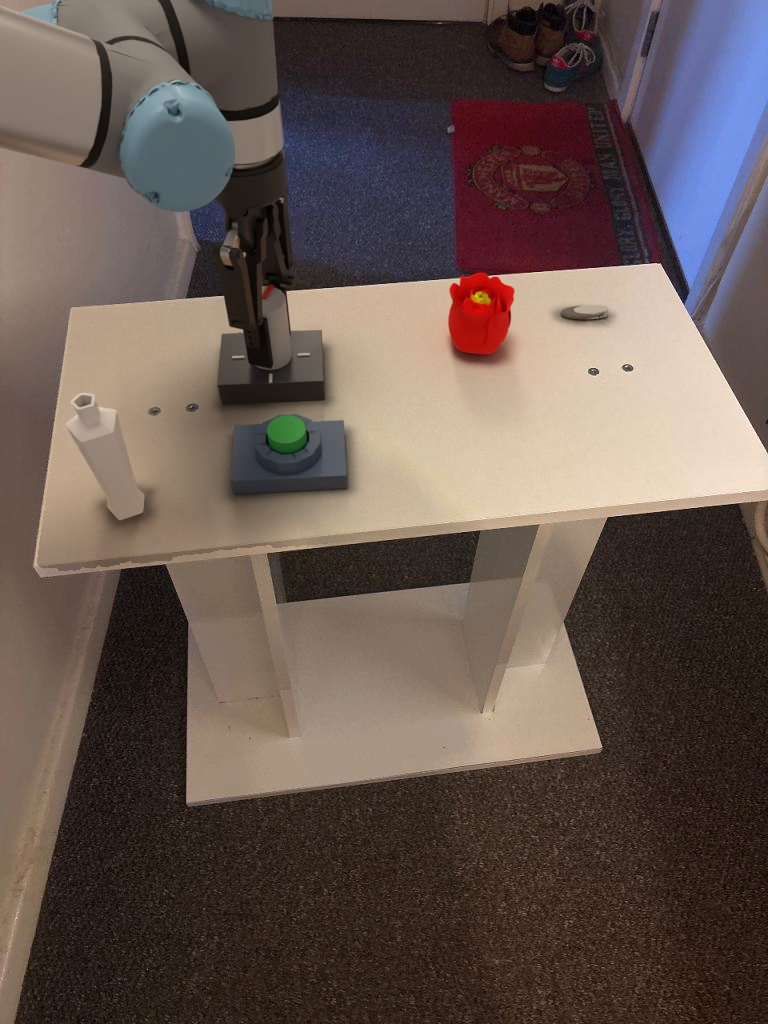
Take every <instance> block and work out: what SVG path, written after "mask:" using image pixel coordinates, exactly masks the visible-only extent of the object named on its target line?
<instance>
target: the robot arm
mask: <svg viewBox="0 0 768 1024" xmlns="http://www.w3.org/2000/svg"><path fill="white" fill-rule="evenodd" d="M274 14H275V13H274V10H273V6H272V0H54V1H53V2H49V3H46V4H42V5H38V6H35V7H31V8H27V9H23V10H21V11H17V10H15V9H12V8H9V7H6V6H3V5H0V149H3V150H7V151H11V152H16V153H20V154H25V155H29V156H33V157H37V158H42V159H45V160H49V161H53V162H57V163H61V164H66V165H70V166H73V167H79V168H83V169H87V170H90V171H93V172H99V173H102V174H106V175H109V176H113V177H118V178H123V179H124V180H126V182H127V184H128V186H129V187H130V188H131V189H132V190H133V191H134V192H136V194H139V195H140V196H141V197H142V199H144V200H145V201H147V202H148V203H150V204H151V205H153V206H154V207H157V208H158V209H161V210H164V211H167V212H172V213H185V212H190V211H195V210H198V209H200V208H203V207H204V206H206V205H208V204H210V203H212V201H214V202H216V203H217V204H218V205H220V207H221V208H222V210H224V225H223V226H224V227H223V228H224V232H225V234H226V237H225V239H224V241H223V244H218V243H215V244H214V245H213V247H212V256H213V258H214V260H215V263H216V265H217V267H218V272H219V277H220V283H221V288H222V295H223V300H224V304H225V310H226V314H227V315H226V316H227V321H228V326H229V327H230V328H234V329H238V330H242V333H244V339H245V345H246V351H247V356H248V362H249V364H252V365H256V366H261V367H265V368H270V369H271V368H272V366H273V358H272V350H271V343H270V336H269V328H268V321H267V318H264V317H263V309H262V286H268V285H269V284H271V285H274V287H275V288H277V289H279V290H281V291H282V292H283V293H284V295H285V297H286V306H287V316H288V325H289V334H290V335H291V331H292V329H291V320H290V312H289V301H288V293H287V287H286V286H290V287H293V286H294V284H295V276H294V275H290V274H288V271H293V268H294V256H293V246H292V236H291V226H290V225H291V224H290V216H289V208H288V207H289V183H288V173H287V163H286V153H285V150H284V144H285V136H284V127H283V118H282V109H281V108H282V107H281V100H280V93H279V87H278V74H277V73H278V72H277V60H276V46H275V34H274V32H275V31H274V21H273V20H274V18H275V17H274V16H275V15H274ZM263 280H264V281H265V282H267V283H265V282H263Z"/></svg>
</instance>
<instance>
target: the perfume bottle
mask: <svg viewBox="0 0 768 1024" xmlns="http://www.w3.org/2000/svg"><path fill="white" fill-rule="evenodd" d="M69 404H71V405H72V407H74V411H75V412H76V414H75V415H74V416H72V418H70V419H69V420H68V421H67V422H66V423H65V427H66V429H67V431H68V433H69V434H70V436H71V438H72V439H73V441H74V443H75V444H76V446H77V448H78V451H80V453H81V455H82V457H83V459H84V460H85V462H86V463H87V465H88V467H89V469H90V470H91V472H92V474H93V476H94V477H95V479H96V481H97V483H98V484H99V486H100V488H101V490H102V492H103V493H104V495H105V497H106V507H107V509H108V510H109V512H111V513H112V514H113V516H114V517H115V518H116V519H117V520H118V521H123V520H125V519H129V518H132V517H134V516H138V515H141V514H142V513H144V510H145V509H144V508H145V498H146V497H145V493H144V492H143V491H141V489H140V488H138V485H137V481H136V477H135V474H134V470H133V466H132V463H131V459H130V455H129V452H128V448H127V444H126V441H125V437H124V434H123V430H122V427H121V423H120V419H119V416H118V412H117V410H116V409H114V408H110V407H109V408H108V407H103V406H98V404H97V400H96V394H95V393H94V394H93V393H89V392H79V393H78V394H77V395H76V396H74V398H72V399H71V401H70V403H69Z"/></svg>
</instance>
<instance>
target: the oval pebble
mask: <svg viewBox="0 0 768 1024" xmlns="http://www.w3.org/2000/svg"><path fill="white" fill-rule="evenodd" d="M609 309H610V308H609V307H608V306H606V305H602V304H600V305H599V304H585V305H574V306H569V307H566V308H563V309H562V310H560V316H562V317H563V318H567V319H573V320H596V319H597V320H598V319H603V318H605V317H607V316H608V315H609Z"/></svg>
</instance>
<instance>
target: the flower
mask: <svg viewBox="0 0 768 1024" xmlns="http://www.w3.org/2000/svg"><path fill="white" fill-rule="evenodd" d="M448 291H449V295H450V297H451V301H452V302H451V306H450V308H449V312H448V318H447V319H448V321H447V323H448V325H447V327H448V331H449V334H450V337H451V340H452V343H453V345H454V346H455V347H456V349H457V350H458V351H461V352H463V353H467V354H477V355H490V354H491V355H492V354H493V353H495V352H496V351H497V350H498V349H499V348H500V346H501V345H502V344H503V342H504V341H505V340H506V337H507V336H508V333H509V329H510V328H511V327H510V326H511V322H512V310H511V309H512V308H511V307H512V305H513V303H514V301H515V296H514V295H515V288H514V287H513V286H511V285H508V284H505V283H504V282H503V281H502V280H501V278H500V277H499V276H492V277H490V276H489V275H488V274H487V273H486V272H476V273H473V274H471V275H469V276H465V275H461V276H460V279H459V284H458V283H456V282H452V283H451V285H450V286H449V289H448Z"/></svg>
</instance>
